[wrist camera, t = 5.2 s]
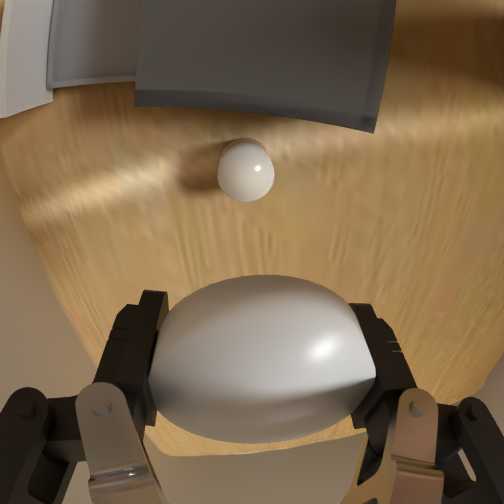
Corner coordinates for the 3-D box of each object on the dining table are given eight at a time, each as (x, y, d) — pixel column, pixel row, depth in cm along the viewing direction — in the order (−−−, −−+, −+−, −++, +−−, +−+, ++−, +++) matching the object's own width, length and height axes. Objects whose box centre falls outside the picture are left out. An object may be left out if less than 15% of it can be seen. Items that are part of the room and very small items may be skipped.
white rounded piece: (273, 140, 24) (278, 152, 21) (266, 187, 26) (269, 204, 23) (222, 135, 24) (219, 146, 21) (217, 182, 26) (215, 199, 23)
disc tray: (222, -53, 15) (217, -89, 9) (202, 97, 22) (188, 107, 16) (59, -34, 13) (16, -49, 8) (45, 102, 20) (-1, 118, 15)
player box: (361, -27, 16) (400, -50, 10) (339, 115, 23) (373, 133, 17) (181, -52, 15) (162, -87, 9) (161, 95, 22) (134, 106, 16)
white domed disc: (389, 281, 8) (413, 324, 6) (327, 403, 11) (334, 439, 10) (147, 265, 7) (129, 312, 6) (166, 399, 10) (161, 437, 9)
